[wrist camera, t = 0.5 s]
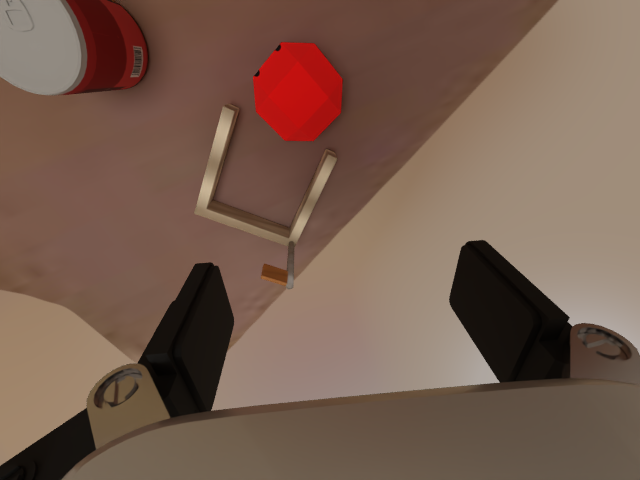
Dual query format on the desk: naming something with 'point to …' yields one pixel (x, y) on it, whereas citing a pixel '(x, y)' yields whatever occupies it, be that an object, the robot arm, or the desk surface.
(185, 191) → the desk surface
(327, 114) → the ball
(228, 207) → the wooden u-shaped stand
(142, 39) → the canned food
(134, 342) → the desk surface
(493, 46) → the desk surface
